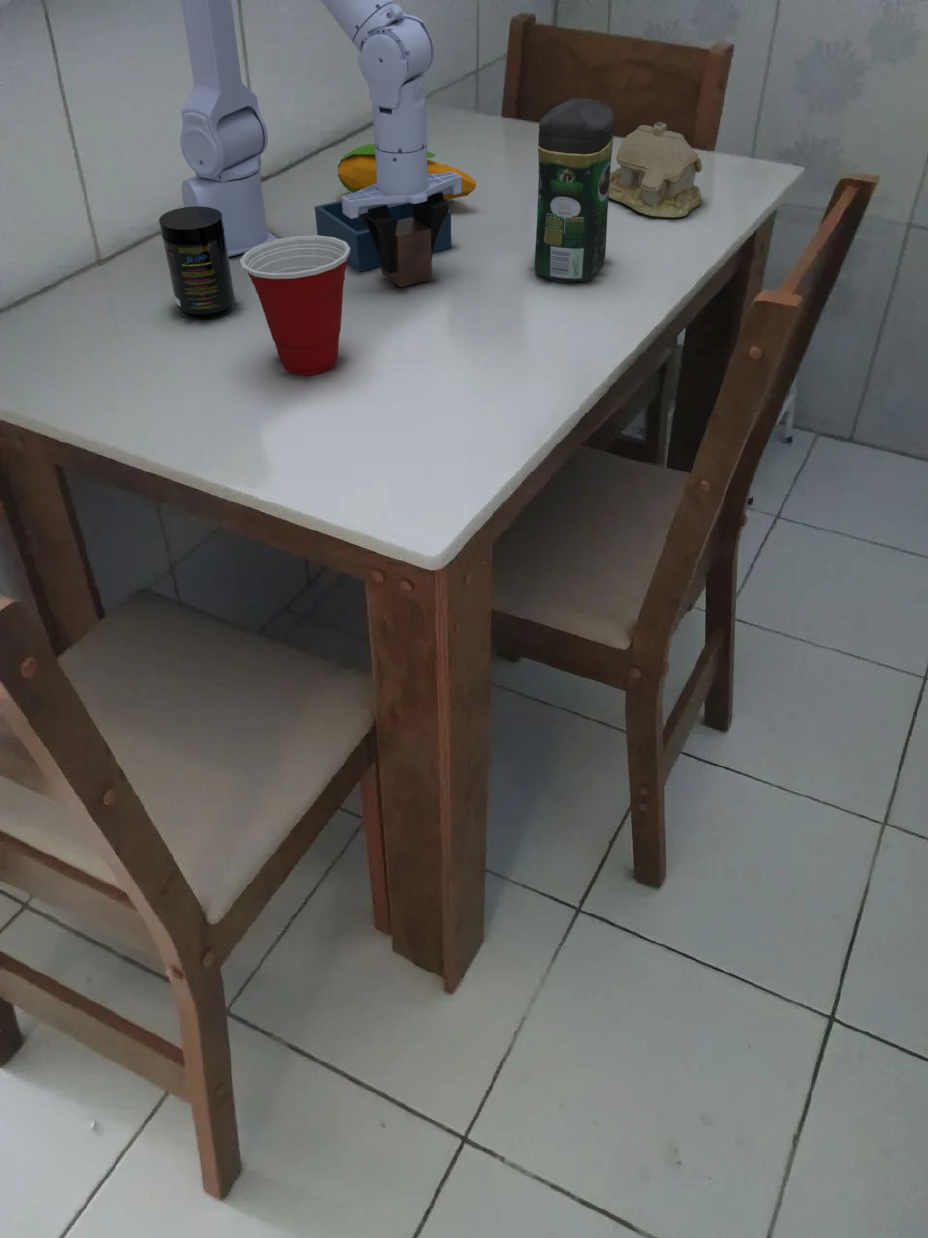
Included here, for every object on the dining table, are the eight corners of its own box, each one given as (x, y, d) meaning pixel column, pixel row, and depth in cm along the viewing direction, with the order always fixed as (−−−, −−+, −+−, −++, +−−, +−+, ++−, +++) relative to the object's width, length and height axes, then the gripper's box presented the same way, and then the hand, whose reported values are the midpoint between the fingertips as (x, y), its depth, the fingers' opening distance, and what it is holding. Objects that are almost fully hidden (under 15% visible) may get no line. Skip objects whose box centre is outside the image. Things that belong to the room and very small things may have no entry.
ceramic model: (717, 201, 145) (729, 124, 138) (670, 224, 139) (679, 144, 132) (634, 177, 152) (641, 103, 146) (585, 199, 146) (590, 121, 140)
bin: (359, 271, 129) (356, 234, 126) (318, 241, 136) (314, 206, 133) (451, 247, 134) (451, 211, 131) (407, 219, 141) (405, 185, 138)
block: (400, 287, 124) (397, 236, 120) (381, 274, 127) (378, 224, 123) (432, 278, 126) (430, 228, 122) (413, 266, 129) (411, 216, 125)
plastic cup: (308, 329, 117) (296, 220, 109) (380, 357, 112) (373, 245, 104) (234, 366, 111) (215, 253, 103) (306, 398, 106) (292, 282, 98)
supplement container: (246, 312, 121) (231, 220, 114) (189, 327, 118) (171, 234, 111) (223, 291, 125) (208, 201, 118) (168, 305, 122) (149, 214, 115)
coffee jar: (549, 249, 133) (556, 89, 121) (610, 257, 131) (624, 95, 119) (525, 279, 126) (530, 113, 114) (589, 289, 124) (601, 120, 112)
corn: (347, 128, 146) (485, 142, 141) (353, 184, 151) (486, 199, 146) (325, 149, 141) (467, 164, 136) (332, 205, 146) (469, 222, 141)
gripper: (359, 167, 111) (368, 291, 120) (476, 142, 117) (476, 262, 126) (329, 149, 116) (339, 270, 125) (442, 126, 121) (444, 243, 130)
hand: (406, 265), depth 125 cm, fingers closed on block, 4 cm apart
